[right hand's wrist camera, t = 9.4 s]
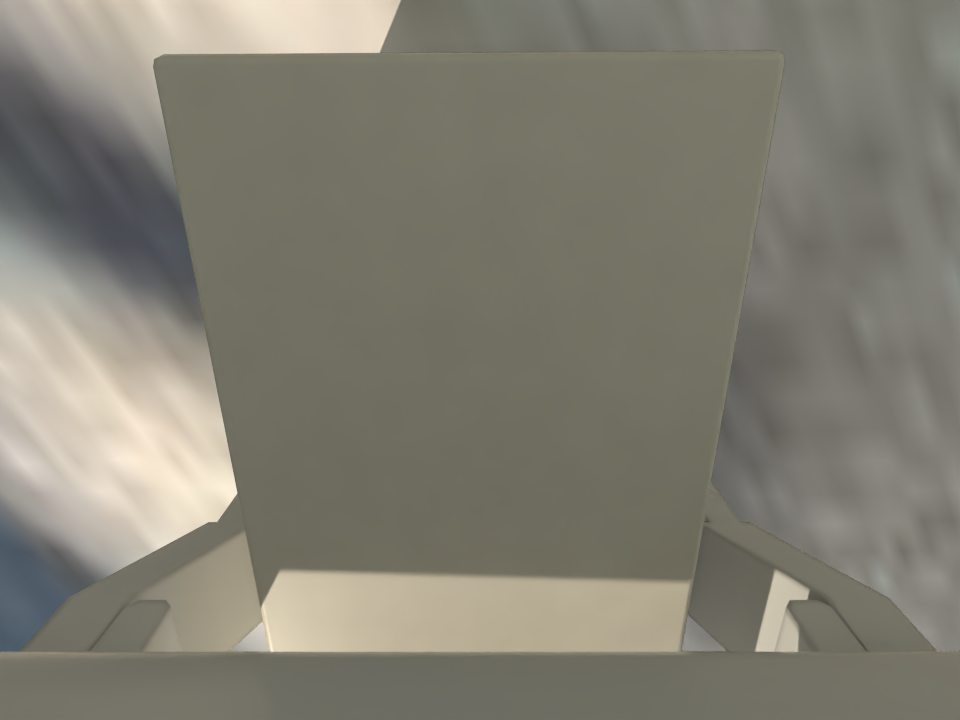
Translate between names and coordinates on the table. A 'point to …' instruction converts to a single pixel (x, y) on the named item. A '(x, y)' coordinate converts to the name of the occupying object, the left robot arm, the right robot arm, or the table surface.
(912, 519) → the table surface
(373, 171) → the bar
